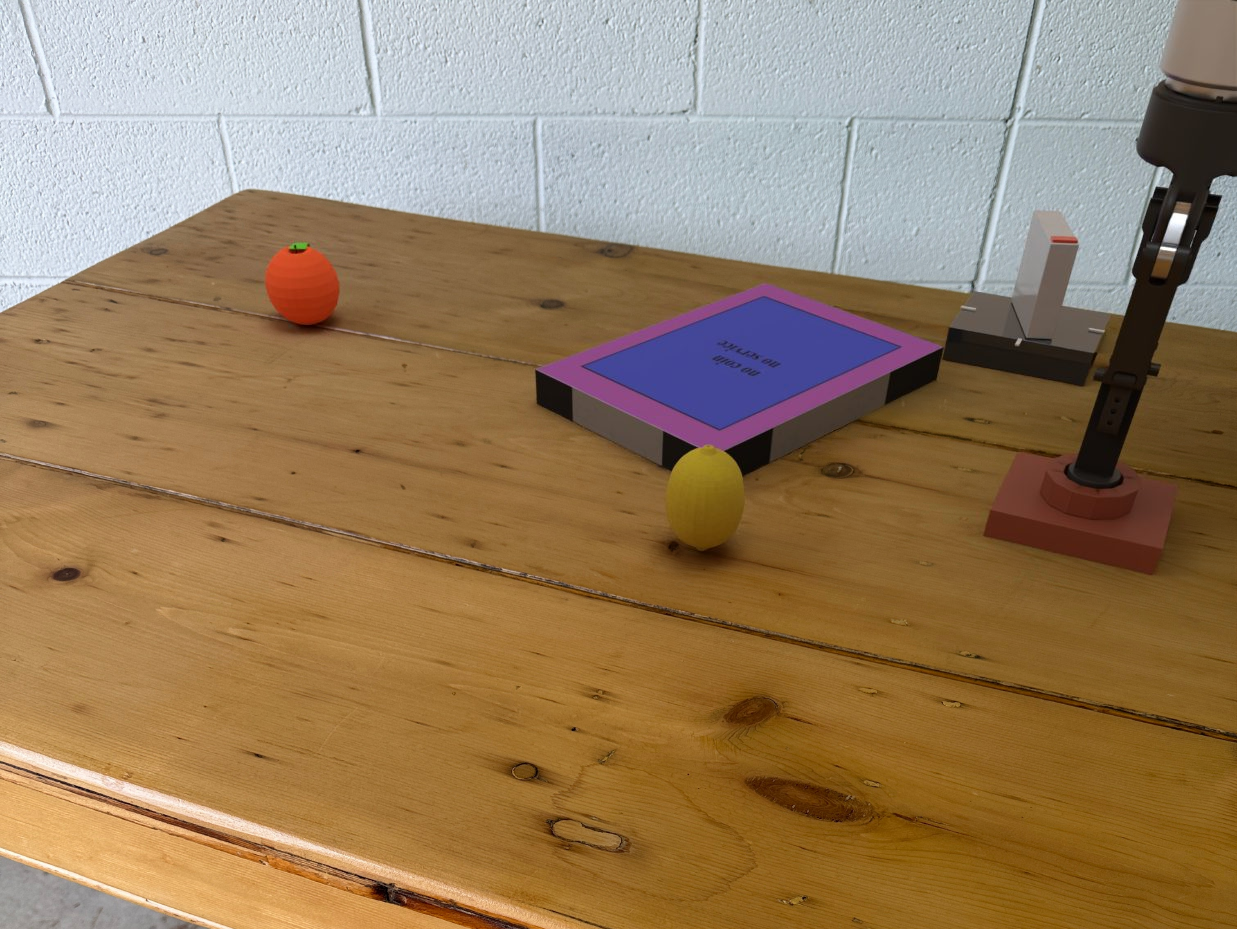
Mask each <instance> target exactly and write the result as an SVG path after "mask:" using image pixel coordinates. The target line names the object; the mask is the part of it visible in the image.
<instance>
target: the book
mask: <svg viewBox="0 0 1237 929" xmlns="http://www.w3.org/2000/svg"><path fill="white" fill-rule="evenodd" d="M944 349H945V346H943V345H940V344H937V343H935V342H932V341H929V340H926V339H923V338H920V337H918V336H915V335H912V334H911V333H910V334H909V333H907V332H904V331H901V330H899V329H896V328H893V327H891V326H887V325H884V324H881V323H879V322H876V321H874V320H870V319H867V318H865V317H862V316H860V315H856V314H855V313H851V312H848V311H846V310H843V309H840V308H838V307H834V306H831V305H829V304H826V303H823V302H820V301H817V300H815V299H813V298H809V297H806V296H804V295H801V294H798V293H796V292H794V291H790V290H788V289H784V288H782V287H779V286H776V285H773V284H770V283H768V282H765V283H762V284H759V285H757V286H754V287H751V288H748V289H745V290H743V291H740V292H738V293H735V294H731V295H730V296H727V297H724V298H722V299H719V300H716V301H714V302H711V303H708V304H706V305H703V306H700V307H698V308H695V309H692V310H689V311H687V312H684V313H682V314H679V315H676V316H673V317H671V318H668V319H666V320H664V321H661V322H658V323H655V324H652V325H649V326H647V327H644V328H642V329H639V330H636V331H634V332H632V333H629V334H625V335H622V336H620V337H618V338H615V339H613V340H609V341H607V342H605V343H601V344H599V345H596V346H594V347H591V348H588V349H585V350H582V351H580V352H578V353H575V354H572V355H570V356H567V357H564V358H561V359H559V360H556V361H554V362H551V363H548V364H545V365H543V366H539V367H538V368H535V369H534V374H535V376H534V377H535V396H536V397H535V398H536V404H537V405H538V406H541V407H544V408H545V409H547V410H549V411H551V412H553V413H555V414H557V415H559V416H561V417H562V418H565V419H567V420H569V421H571V422H573V423H575V424H577V425H578V426H581V427H583V428H585V429H587V430H589V431H591V432H593V433H594V434H597V435H599V436H601V437H603V438H605V439H607V440H609V441H611V442H612V443H615V444H617V445H618V446H620V447H622V448H625V449H626V450H628V451H630V452H632V453H634V454H637V455H639V456H641V457H643V458H644V459H646V460H648V461H650V462H652V463H654V464H657V465H659V466H660V467H663V468H664V469H666V470H669V471H670V472H672V470H673V468H674V466H675V465H676V464H677V462H678V461H679V460H680V459H681V458H682V457H683V456H684V455H685V454H687V453H688V452H690V451H692V450H694V449H697V448H701V447H703V446H705V445H712V446H714V448H717V449H720V450H722V451H724V452H726V453H727V454H728V455H729V456H731V457H732V458H733V459H734V460H735V462H736V463H737V465H738V467H739V468H740V471H741V473H742V477H744V476H745V475H748V474H750V473H753V472H754V471H757V470H758V469H760V468H762V467H764V466H766V465H768V464H770V463H772V462H774V461H776V460H778V459H780V458H783V457H784V456H787V455H788V454H790V453H792V452H794V451H796V450H798V449H801V448H802V447H805V446H807V445H808V444H811V443H812V442H815V441H816V440H819V439H821V438H823V437H825V436H826V435H828V433H829V434H831V433H832V432H835V431H837V430H839V429H840V428H842V426H843V427H845V426H847V425H848V424H851V423H852V422H855V421H857V420H858V419H860V418H862V417H864V416H866V415H868V414H870V413H872V412H874V411H876V410H879V409H880V408H882V407H885V406H886V405H888V404H890V403H892V402H895V401H896V400H898V399H900V398H902V397H904V396H907V395H908V394H910V393H913V392H915V391H917V390H919V389H921V388H923V387H925V386H926V385H929V384H930V383H932V382H935V381H937V380H938V375H939V371H940V366H941V361H942V358H943V353H944ZM838 428H839V429H838ZM836 429H837V430H836ZM834 430H835V431H834ZM830 432H831V433H830ZM824 435H825V436H824Z"/></svg>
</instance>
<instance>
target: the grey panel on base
mask: <svg viewBox="0 0 1237 929" xmlns="http://www.w3.org/2000/svg"><path fill="white" fill-rule="evenodd" d="M1079 247H1080V243H1079V240H1078V238H1077V236H1075V235H1074V233H1073V231H1072V229H1071V228H1070V225H1069V224H1068V222H1067V221H1066V219H1065V217H1064V215H1063V212H1062V211H1060V210H1044V209H1043V210H1042V209H1041V210H1039V209H1034V210H1033V211H1032V216H1031V220H1030V224H1029V229H1028V232H1027V236H1026V240H1025V244H1024V248H1023V253H1022V257H1021V261H1020V264H1019V268H1018V272H1017V276H1016V280H1015V283H1014V287H1013V291H1012V296H1011V297H1012V300H1011V301H1012V304H1013V306H1014V309H1015V311H1016V314H1017V316H1018V319H1019V321H1020V324H1021V326H1022V329H1023V331H1024V334H1025V336H1026V338H1038V339H1053V336H1054V333H1055V329H1056V326H1057V322H1058V318H1059V315H1060V311H1061V308H1062V306H1063V304H1064V301H1065V300H1064V299H1065V297H1066V294H1067V290H1068V287H1069V283H1070V280H1071V275H1072V272H1073V270H1074V265H1075V262H1076V259H1077V254H1078V251H1079V249H1080V248H1079Z"/></svg>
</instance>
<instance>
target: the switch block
mask: <svg viewBox="0 0 1237 929" xmlns="http://www.w3.org/2000/svg"><path fill="white" fill-rule="evenodd" d="M1078 454H1079V453H1066V454H1062V455H1060V456H1058V457H1054V458H1052V457H1047V456H1041V455H1037V454H1032V453H1028V452H1023V451H1017V452H1016V454H1015V456H1014V459H1013V461H1012V463H1011V465H1010V467H1009V469H1008V472H1007V474H1006V475H1005V478H1004V480H1003V482H1002V484H1001V486H1000V488H999V490H998V492H997V495H996V497H995V499H994V501H993V503H992V505H991V507H990V509H989V513H988V517H987V520H986V523H985V528H984V531H983V535H982V536H983V537H987V538H990V539H995V540H999V541H1004V542H1009V543H1013V544H1017V545H1021V546H1024V547H1025V546H1026V547H1029V548H1034V549H1038V550H1043V551H1047V552H1050V553H1056V554H1060V555H1063V556H1068V557H1073V558H1076V559H1080V560H1084V561H1089V562H1093V563H1098V564H1103V565H1105V566H1106V565H1107V566H1111V567H1115V568H1119V569H1123V570H1127V571H1131V572H1136V573H1140V574H1145V575H1148V576H1153V575H1154V574H1155V573H1154V572H1155V571H1156V567H1157V566H1158V562H1159V560H1160V558H1161V556H1162V552H1163V550H1164V547H1165V544H1166V543H1165V542H1166V538H1167V535H1168V531H1169V527H1170V524H1171V523H1170V522H1171V518H1172V516H1173V510H1174V506H1175V502H1176V498H1177V494H1178V491H1179V486H1180V485H1179V484H1177V483H1176V484H1175V483H1171V482H1166V481H1162V480H1161V481H1160V480H1156V479H1151V478H1147V477H1142V476H1140V475H1139V474H1138V473H1137V472H1136V470H1135V469H1133V467H1132V466H1130V465H1127V464H1125V463H1123V462H1121V461H1119V460H1118V462H1117V465H1116V467H1115V468H1117V469H1118V470H1119V472H1120V474H1121V477H1120V480H1119V482H1118V485H1117V487H1115V488H1112V489H1094V488H1089V487H1085V486H1081V485H1079V484H1077V483H1075V482H1073V481H1071V480H1069V479H1068V478H1067V476H1066V475H1067V472H1068V469H1069V466H1070V465H1071V464H1072V463H1073V462H1075V461H1076V460H1077V457H1078Z"/></svg>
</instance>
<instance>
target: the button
mask: <svg viewBox="0 0 1237 929" xmlns="http://www.w3.org/2000/svg"><path fill="white" fill-rule="evenodd" d="M1075 463H1076V461H1075V462H1073V463H1072V464H1071V465H1070V466H1069V469H1068V472H1067V475H1066V476H1067V478H1068V479H1069V480H1071V481H1073V482H1075V483H1077V484H1079V485H1081V486H1085V487H1089V488H1094V489H1112V488H1115V487H1117V485H1118V482H1119V480H1120V477H1121V474H1120V472H1119V470H1118V469H1117V468H1115V470H1114V473H1113V476H1108V475H1103V474H1098V473H1094V472H1089V471H1084V470H1080V469H1075V468H1074V466H1075Z"/></svg>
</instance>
